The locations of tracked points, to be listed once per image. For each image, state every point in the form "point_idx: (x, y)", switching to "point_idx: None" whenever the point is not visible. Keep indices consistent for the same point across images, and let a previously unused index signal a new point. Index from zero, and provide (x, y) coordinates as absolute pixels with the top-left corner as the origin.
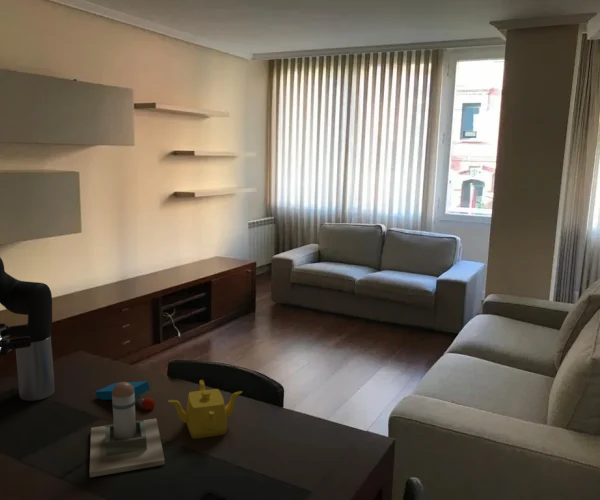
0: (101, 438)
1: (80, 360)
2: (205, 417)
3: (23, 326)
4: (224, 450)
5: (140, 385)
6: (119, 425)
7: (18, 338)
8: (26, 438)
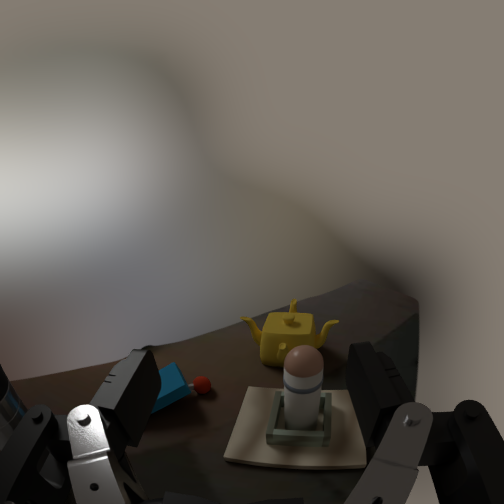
0: (269, 449)
1: (18, 391)
2: (314, 337)
3: (143, 362)
4: (346, 348)
5: (178, 371)
6: (317, 407)
7: (385, 374)
8: None
